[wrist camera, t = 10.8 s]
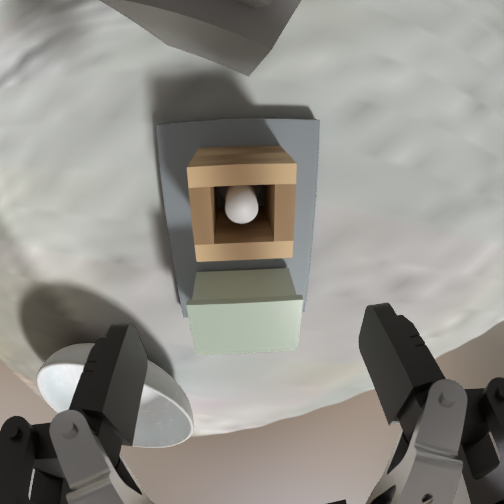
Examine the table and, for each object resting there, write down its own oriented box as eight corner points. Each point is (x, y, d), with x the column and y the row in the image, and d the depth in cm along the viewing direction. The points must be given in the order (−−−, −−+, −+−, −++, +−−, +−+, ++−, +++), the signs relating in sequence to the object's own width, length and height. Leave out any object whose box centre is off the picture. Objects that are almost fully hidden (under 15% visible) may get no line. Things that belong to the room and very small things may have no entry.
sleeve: (280, 145, 21) (296, 163, 16) (278, 219, 24) (292, 257, 19) (198, 148, 21) (186, 167, 16) (204, 222, 24) (196, 261, 19)
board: (315, 119, 21) (343, 128, 16) (302, 303, 30) (315, 348, 25) (159, 124, 21) (135, 135, 15) (184, 309, 30) (177, 355, 24)
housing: (292, 264, 26) (303, 299, 22) (288, 313, 29) (297, 349, 25) (192, 269, 26) (186, 305, 21) (199, 317, 28) (196, 354, 24)
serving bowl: (32, 348, 33) (14, 383, 27) (114, 291, 28) (92, 339, 22) (129, 421, 42) (123, 454, 36) (227, 392, 38) (228, 435, 32)
